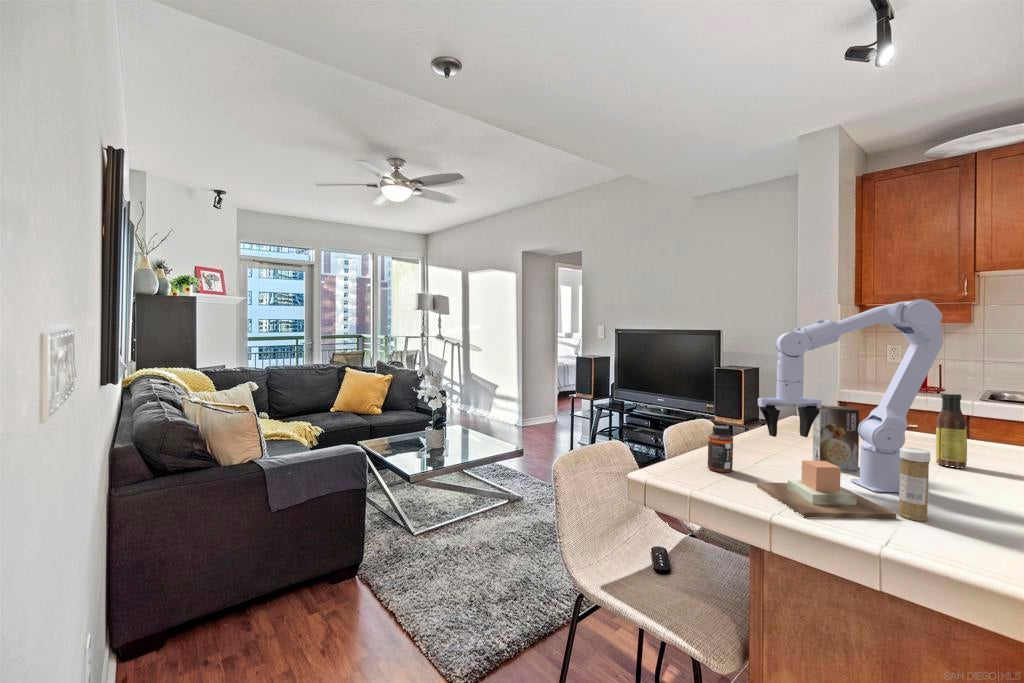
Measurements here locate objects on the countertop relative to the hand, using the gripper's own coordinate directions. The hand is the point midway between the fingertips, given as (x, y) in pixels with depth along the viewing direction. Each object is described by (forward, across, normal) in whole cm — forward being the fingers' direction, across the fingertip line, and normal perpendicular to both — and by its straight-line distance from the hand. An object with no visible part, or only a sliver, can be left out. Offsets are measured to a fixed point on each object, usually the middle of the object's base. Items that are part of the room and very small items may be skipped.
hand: (788, 436), depth 118 cm
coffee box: (+11, -19, -11) cm, 24 cm away
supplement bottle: (+11, +14, -6) cm, 19 cm away
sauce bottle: (+11, -52, -13) cm, 55 cm away
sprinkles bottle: (+11, -11, +24) cm, 28 cm away
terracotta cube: (+7, +2, +16) cm, 18 cm away
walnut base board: (+10, +2, +16) cm, 19 cm away
